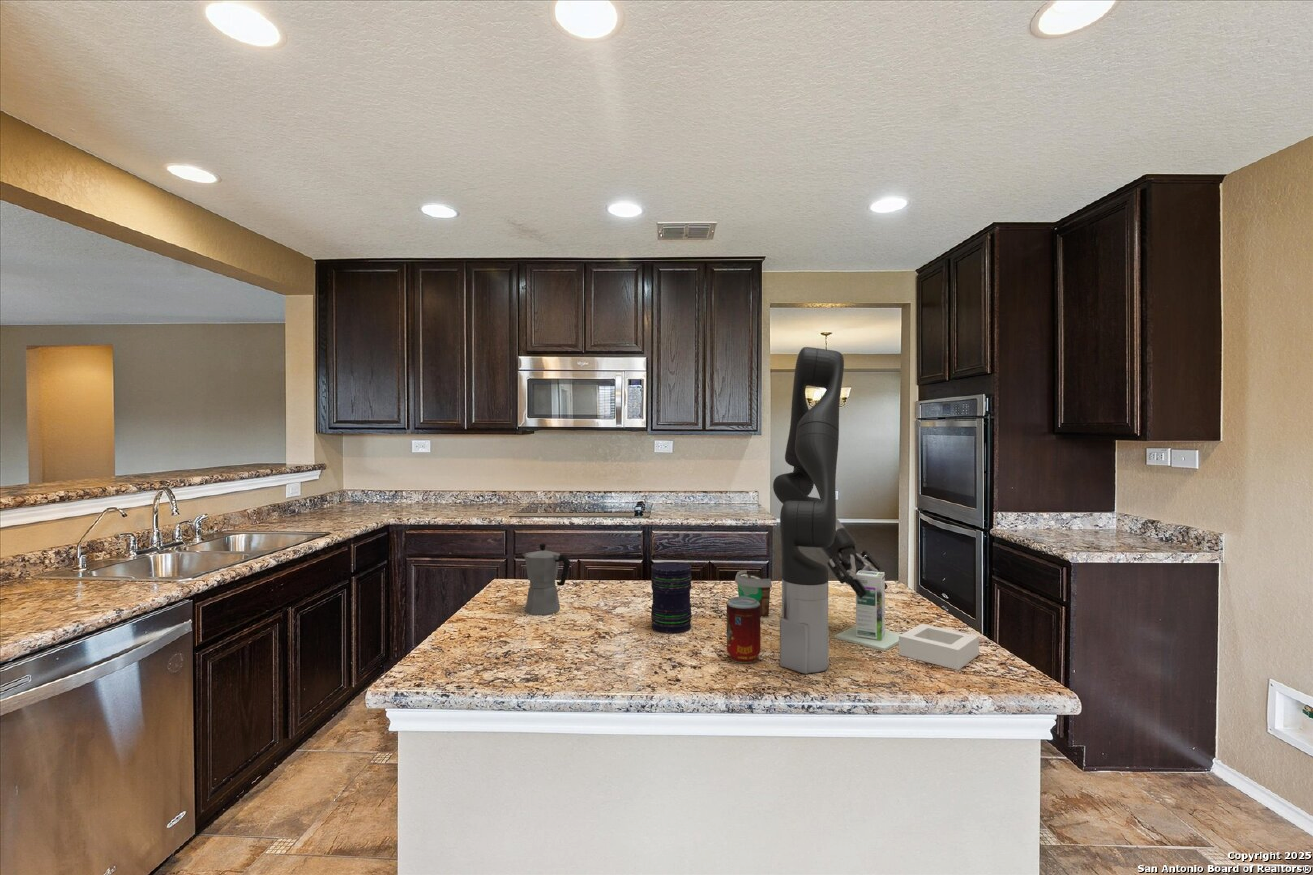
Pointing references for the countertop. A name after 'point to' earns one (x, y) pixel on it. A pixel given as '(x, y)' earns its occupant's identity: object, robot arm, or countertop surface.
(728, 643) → the soda can
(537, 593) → the coffeepot
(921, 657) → the socket collar
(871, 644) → the green mat
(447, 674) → the countertop surface
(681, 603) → the storage jar
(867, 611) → the syrup box
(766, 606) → the food container
